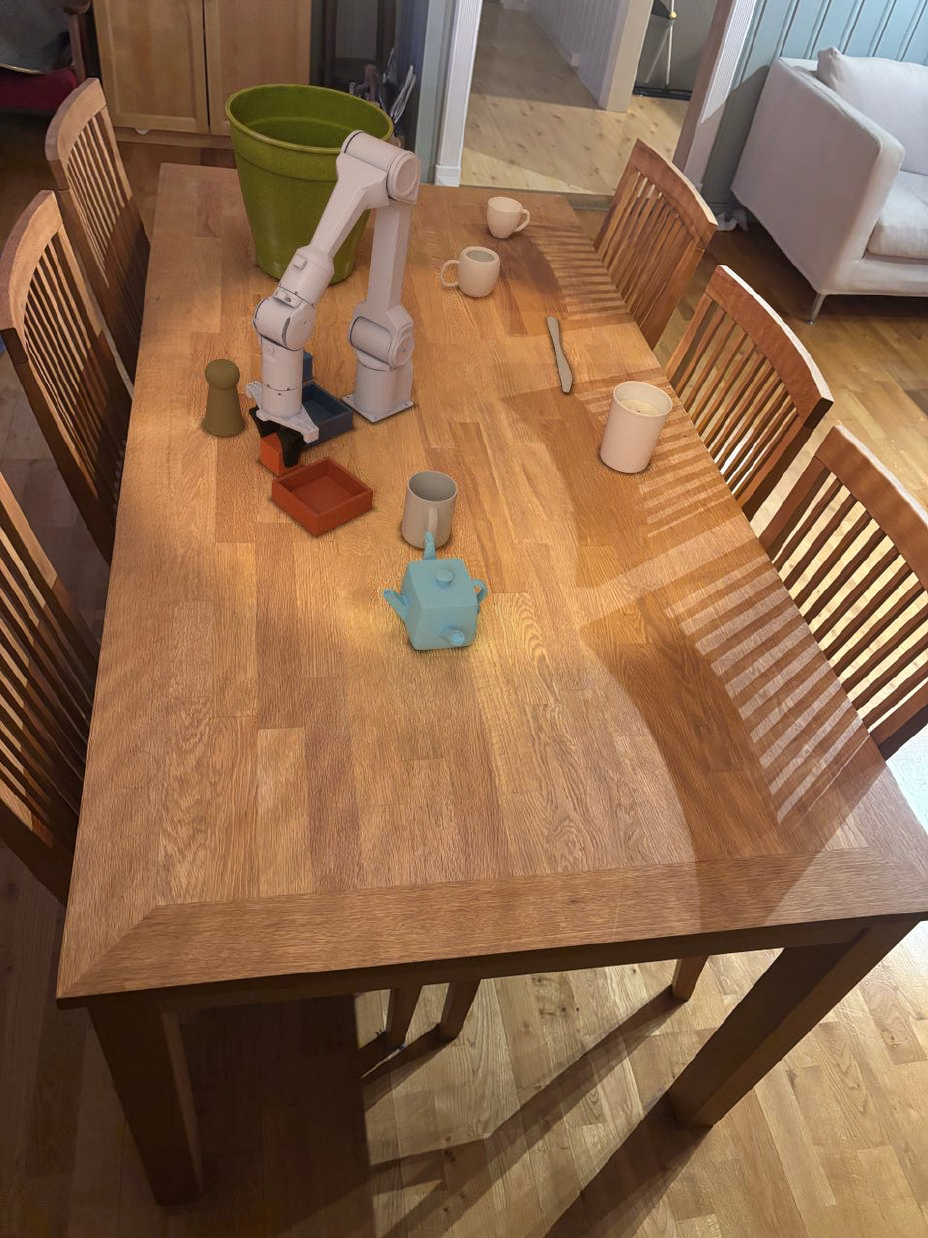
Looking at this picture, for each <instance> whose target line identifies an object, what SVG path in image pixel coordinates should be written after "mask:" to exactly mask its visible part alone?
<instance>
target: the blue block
mask: <svg viewBox="0 0 928 1238" xmlns="http://www.w3.org/2000/svg"><path fill="white" fill-rule="evenodd" d="M313 364H314V356H313V355H312V354H311V353H310V352H308V351H307V350H305V349H304V348H303V374H302V383H304V382H307V381H310V380H312V379H313Z"/></svg>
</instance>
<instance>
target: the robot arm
mask: <svg viewBox="0 0 928 1238" xmlns="http://www.w3.org/2000/svg"><path fill="white" fill-rule="evenodd" d="M422 168H423V162H422V161H421V160H420V158H418V156H417V155H416V154H415V153H414V152H413V151H411V150H406V149H404V148H401V147H398V146H396V145H394V144H392V143H389V142H388V143H387V142H385V141H382V140H380V139H378V138H375V137H373V136H371V135H368V134H367V133H365V132H364V131H362V130H356V131H354V132H352V133H351V134H350V135H349V136H348V137H347V138H346V140H345V141H344V143H343V145H342V147H341V151H340V155H339V156H338V157H337V159H336V174H337V178H338V181H337V183H336V186H335V188H334V190H333V192H332V195H331V197H330V199H329V202H328V204H327V206H326V208H325V211H324V213H323V215H322V218H321V220H320V222H319V224H318V227H317V229H316V231H315V233H314V236H313V238H312V240H311V243H310V244H309V245H308V246H305V247H301V248H299V249H297V251H296V253H295V255H294V256H293V258H292V260H291V262H290V264H289V265H288V267H287V269H286V271H285V273H284V275H283V277H282V278H281V280H279V282H278V284H277V286H276V288H275V289H274V291H273V293H272V295H270V296H269V295H268V296H265V297H264V298H262V299H261V301H259V303H258V304H257V306H256V308H255V310H254V315H253V318H252V319H251V325H252V326H251V327H252V329H253V331H254V332H255V333H256V335H257V344H258V345H259V346H260V347H261V383H260V382H259V381H258V380H254V381H252V382H249V383H246V384H245V396H246V397H247V398H248V399H253V401H254V402H255V405H254V406H252V407H251V408H249V410H248V415H249V416H250V417H251V419H252V421H253V423H254V424H255V426H256V428H257V429H256V430H257V431H258V434H259V437H260V439H261V438H264V437H266V436H268V435H271V434H273V433H276V435H277V436H278V438H279V440H280V443H281V446H282V451H283V462H284V466H285V467H286V468H290V467H293V466H295V465H297V464H298V461H299V458H300V455H301V456H302V453H303V451H304V450H303V448H304V446H305V444H306V443H310V442H313V441H315V440H317V439H318V433H319V428H318V427H317V426H316V425H315V424H314V423H313V422H312V420H311V419H310V417H309V415H308V413H307V412H306V410H305V408H304V407H303V405H302V385H303V382H302V374H303V349H304V346H305V345H306V344H307V343H308V342H309V340H310V338H311V337H312V335H313V333H314V329H315V320H316V317H317V313H318V310H317V309H316V308H317V307H318V304H319V303H320V301H321V298H322V297H323V295H324V293H325V291H326V289H327V287H328V286H329V285H330V284H329V282H330V280H331V278H332V276H333V275H334V266H333V257H334V256H335V254H336V253H337V251H338V249H339V248H340V246H341V245H342V243H343V242H344V240H345V239H346V237H347V236H348V234H349V233H350V231H351V230H352V228H353V227H354V225H355V224H356V222H357V220H358V219H359V217H360V216H361V214H362V213H363V211H364V210H365V209H371V210H372V209H376V210H375V217H374V226H373V236H372V246H371V254H370V255H371V256H370V264H369V265H370V267H369V275H368V276H369V277H368V285H367V295H366V298H365V299H363V300H361V301H359V302H358V303H357V304H356V305H355V306H354V307H353V309H352V316H351V319H350V321H349V323H348V326H347V330H346V339H347V342H348V344H349V346H351V347H352V348H353V350H352V351H353V352H352V353H353V355H354V356H356V362H355V373H354V374H355V375H354V386H353V387H354V388H353V392H352V393H350V394H348V395H345V396H343V397H342V398H341V402H343V403H344V404H345V405H347V406H348V407H349V408H351V409H352V410H353V411H356V412H357V413H359V415H362V417H364V418H365V419H367V420H368V421H369V422H371V423H376V422H378V421H382V420H383V419H385V418H387V417H390V416H393V415H395V414H397V413H399V412H401V411H404V410H406V409H409V408H410V407H413V406H414V402H413V401H412V400H411V397H412V396H411V395H412V389H413V381H414V372H415V370H414V369H415V368H414V364H413V360H412V358H411V357H412V355H413V354H414V350H415V345H416V343H415V342H416V341H415V335H414V326H415V321H414V319H413V318H412V316H411V314H410V313H408V311H407V309H406V308H405V307H404V305H403V304H402V298H403V297H402V296H403V289H404V282H405V275H406V274H405V273H406V266H407V260H408V251H409V244H410V235H411V229H412V228H411V227H412V220H413V214H414V213H413V212H414V207H415V206H416V205H417V204H418V197H419V191H420V183H421V176H422ZM328 284H329V285H328ZM281 424H282V425H284V426H287V427H288V428H285V429H283V430H280V426H281Z"/></svg>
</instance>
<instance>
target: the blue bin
mask: <svg viewBox="0 0 928 1238" xmlns="http://www.w3.org/2000/svg"><path fill="white" fill-rule="evenodd" d="M302 405H303V407H304V408H305V410H306V412H307V413H308V415H309V417H310V419H311V420H312V422H313V423H314V424H315V425H316V426H317V427H318V428H319V433H318V439H317V440H315V441H313V442H310V443H306V444H305V446H304V448H303V450H302V451H304V450H307V449H309V448H311V447H313V446H316V445H318V444H320V443H323V442H326V441H327V440H330V439H331V438H334V437H336V436H337V437H338V436H339V435H342V434H343V433H346V432H348V431H351V430H353V426H354V425H353V424H354V411H355V410H354V409H353V408H352V407H350V406H349V405H347V404H346V403H345V402H343V401H342V400H340V399H338V397H335V395H333V394H331V393H330V392H329V391H328V390H326V389H325V388H323V387H322V386H321V385H319V384H318V383H316V382H315V381H314V380H311V381H310V382H307V383H303V384H302ZM285 428H288V427H287V426H284V425H282V424H281V426H280V430H283V429H285Z"/></svg>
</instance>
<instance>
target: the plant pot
mask: <svg viewBox="0 0 928 1238" xmlns="http://www.w3.org/2000/svg"><path fill="white" fill-rule="evenodd" d="M224 109H225V110H224V111H225V115H226V117H227V119H228V120H229V121H228V122H229V130H230V132H229V133H230V142H231V145H232V147H233V152H234V161H235V165H236V166H235V167H236V172H237V177H238V181H239V186H240V191H241V196H242V200H243V205H244V209H245V214H246V217H247V222H248V224H249V228H250V231H251V236H252V238H253V241H254V245H255V247H254V248H255V259H256V260H255V261H256V262H257V264H258V266H259V268H261V270H263V271H264V272H265V273H266V274H268V275H269V276H270V277H273V278H275V279H277V280H279V281H280V280H281V278H282V277H283V275H284V273H285V271H286V269H287V267H288V265H289V264H290V262H291V260H292V258H293V256H294V255H295V253H296V251H297V249H299V248H301V247H305V246H308V245H309V244H310V243H311V240H312V238H313V236H314V233H315V231H316V229H317V227H318V224H319V222H320V220H321V218H322V215H323V213H324V211H325V208H326V206H327V204H328V202H329V199H330V197H331V195H332V192H333V190H334V188H335V186H336V183H337V181H338V178H337V174H336V159H337V157H338V156H339V155H340V151H341V147H342V145H343V143H344V141H345V140H346V138H347V137H348V136H349V135H350V134H351V133H352V132H354V131H356V130H362V131H364V132H365V133H367V134H368V135H371V136H373V137H375V138H378V139H380V140H382V141H385V142H387V143H389V141H390V139H391V138H392V135H393V132H394V122H393V120H392V118H391V117H390V116H389V115H388V113H387V112H386V111H384V110H383V109H382V108H380V107H379V106H377V105H376V104H374V103H372V102H370V101H368V100H367V99H364V98H361V97H359V96H357V95H354V94H350V93H347V92H345V91H340V90H337V89H333V88H327V87H323V86H318V85H317V86H316V85H308V84H297V83H270V84H262V85H254V86H250V87H247V88H244V89H243V88H242V89H240V90H239V91H236V92H235V93H233V94H232V95H230V96H229V97H228V98H227V100H226V102H225V104H224ZM371 211H372V209H365V210H364V211H363V213H362V214H361V216H360V217H359V219H358V220H357V222H356V224H355V225H354V227H353V228H352V230H351V231H350V233H349V234H348V236H347V237H346V239H345V240H344V242H343V243H342V245H341V246H340V248H339V249H338V251H337V253H336V254H335V256H334V257H333V266H334V275H333V276H332V278H331V280H330V282H329V284H328V286H329V285H332V284H336V283H339V282H341V281H343V280H345V279H346V278H348V277H349V276H350V275H351V273H352V271H353V270H354V264H355V256H356V252H357V251H358V248H359V246H360V243H361V241H362V238H363V235H364V232H365V229H366V226H367V223H368V221H369V217H370V214H371Z"/></svg>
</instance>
